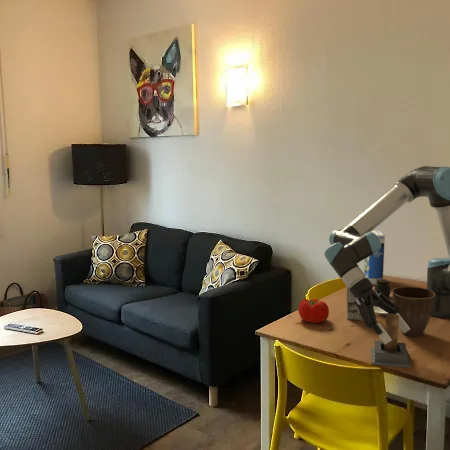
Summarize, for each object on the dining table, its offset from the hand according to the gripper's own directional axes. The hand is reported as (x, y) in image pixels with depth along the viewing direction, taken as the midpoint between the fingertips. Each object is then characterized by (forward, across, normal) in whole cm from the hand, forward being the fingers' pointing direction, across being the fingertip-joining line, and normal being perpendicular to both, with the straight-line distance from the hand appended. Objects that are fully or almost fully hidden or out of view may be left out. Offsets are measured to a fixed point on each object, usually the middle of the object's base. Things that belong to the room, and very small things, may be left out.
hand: (398, 336), depth 161 cm
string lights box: (-32, -82, -44) cm, 98 cm away
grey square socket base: (+4, 0, -8) cm, 9 cm away
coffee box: (-17, -29, -29) cm, 44 cm away
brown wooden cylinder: (+3, 0, -7) cm, 8 cm away
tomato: (-24, -13, -36) cm, 45 cm away
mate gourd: (-20, -61, -33) cm, 72 cm away
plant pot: (+1, -26, -11) cm, 28 cm away
